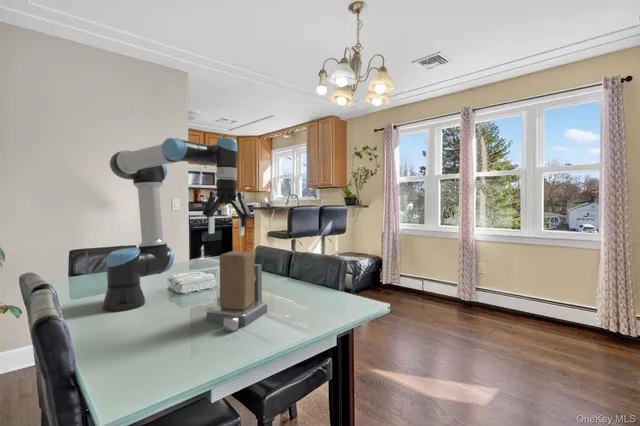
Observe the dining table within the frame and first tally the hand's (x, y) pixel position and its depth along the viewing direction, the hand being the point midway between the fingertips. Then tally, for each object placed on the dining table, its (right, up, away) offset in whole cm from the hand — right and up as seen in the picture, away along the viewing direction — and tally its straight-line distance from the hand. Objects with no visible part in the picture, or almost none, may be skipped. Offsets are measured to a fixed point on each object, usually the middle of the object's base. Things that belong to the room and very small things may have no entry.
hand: (226, 234), depth 127 cm
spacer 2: (+6, -31, -16) cm, 36 cm away
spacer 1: (-3, -30, +8) cm, 32 cm away
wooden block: (+5, -27, -3) cm, 27 cm away
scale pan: (+5, -30, -3) cm, 31 cm away
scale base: (+6, -31, -2) cm, 31 cm away
